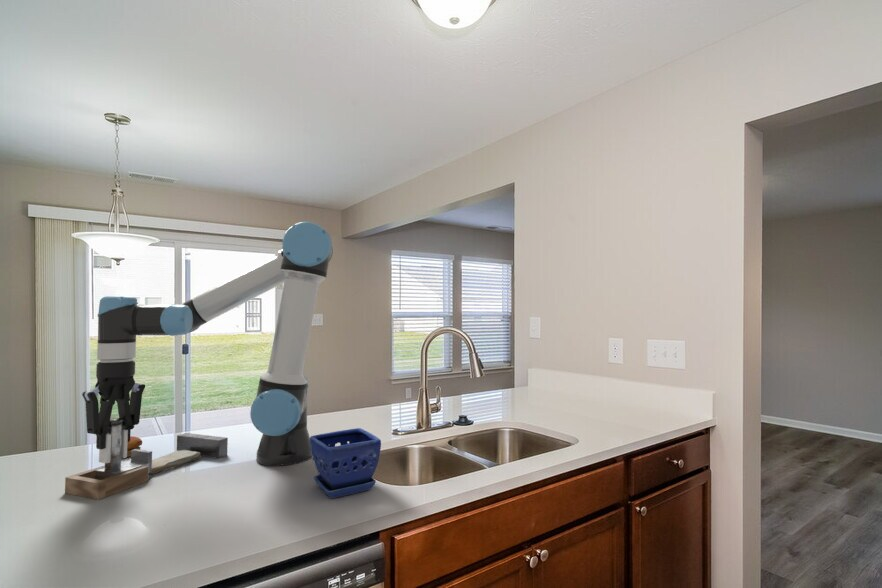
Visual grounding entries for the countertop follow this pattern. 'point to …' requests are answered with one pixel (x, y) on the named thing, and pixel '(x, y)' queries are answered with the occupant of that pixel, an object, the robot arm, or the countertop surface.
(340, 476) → the flower pot
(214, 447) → the grey rectangular bar
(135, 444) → the burger
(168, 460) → the stone
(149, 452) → the ram
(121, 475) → the frame
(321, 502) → the countertop surface
